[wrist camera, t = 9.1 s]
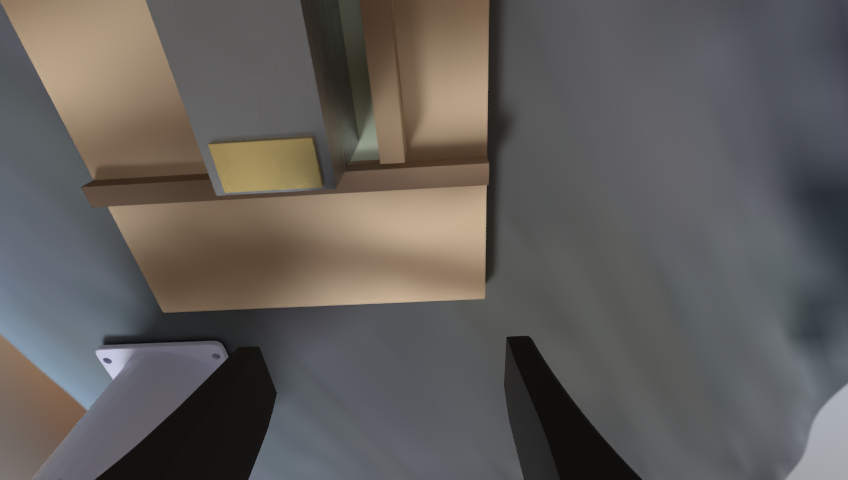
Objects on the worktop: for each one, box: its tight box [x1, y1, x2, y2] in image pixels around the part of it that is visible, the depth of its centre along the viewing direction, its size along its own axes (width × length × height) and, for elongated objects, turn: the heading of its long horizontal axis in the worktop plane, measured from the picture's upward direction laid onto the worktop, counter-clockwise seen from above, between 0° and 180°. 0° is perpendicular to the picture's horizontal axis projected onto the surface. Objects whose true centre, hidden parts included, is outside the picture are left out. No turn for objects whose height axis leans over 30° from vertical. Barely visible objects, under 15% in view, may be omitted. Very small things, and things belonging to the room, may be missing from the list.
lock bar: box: [146, 0, 360, 196], centre depth 13 cm, size 8×4×5 cm, turn 4°
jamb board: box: [0, 0, 489, 313], centre depth 17 cm, size 18×18×2 cm
